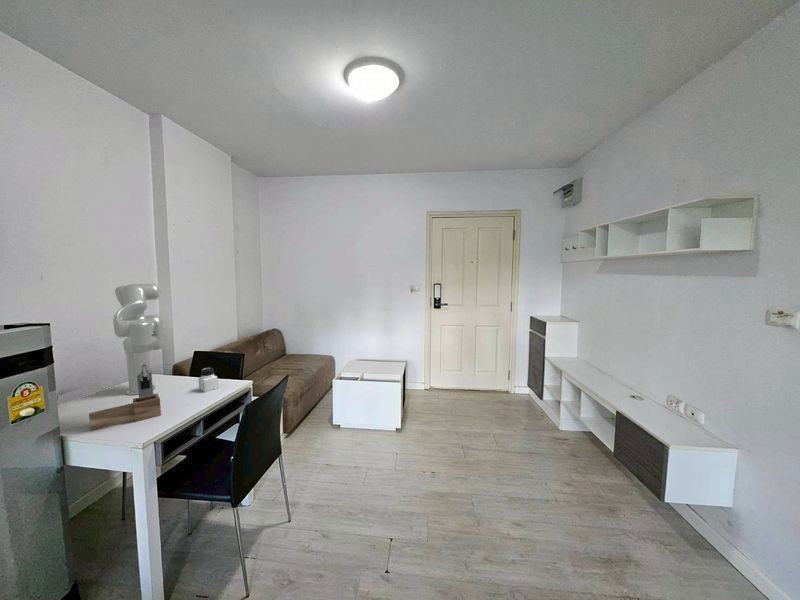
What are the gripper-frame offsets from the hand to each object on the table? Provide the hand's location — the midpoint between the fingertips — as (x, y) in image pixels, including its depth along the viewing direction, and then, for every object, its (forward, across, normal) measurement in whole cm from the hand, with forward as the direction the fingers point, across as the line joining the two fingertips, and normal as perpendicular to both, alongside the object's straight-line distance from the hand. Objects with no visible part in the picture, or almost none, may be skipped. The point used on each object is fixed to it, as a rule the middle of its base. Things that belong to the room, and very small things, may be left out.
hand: (145, 387), depth 138 cm
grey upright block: (+4, 0, 0) cm, 4 cm away
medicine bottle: (+14, -17, +28) cm, 36 cm away
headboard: (+14, 0, -7) cm, 15 cm away
